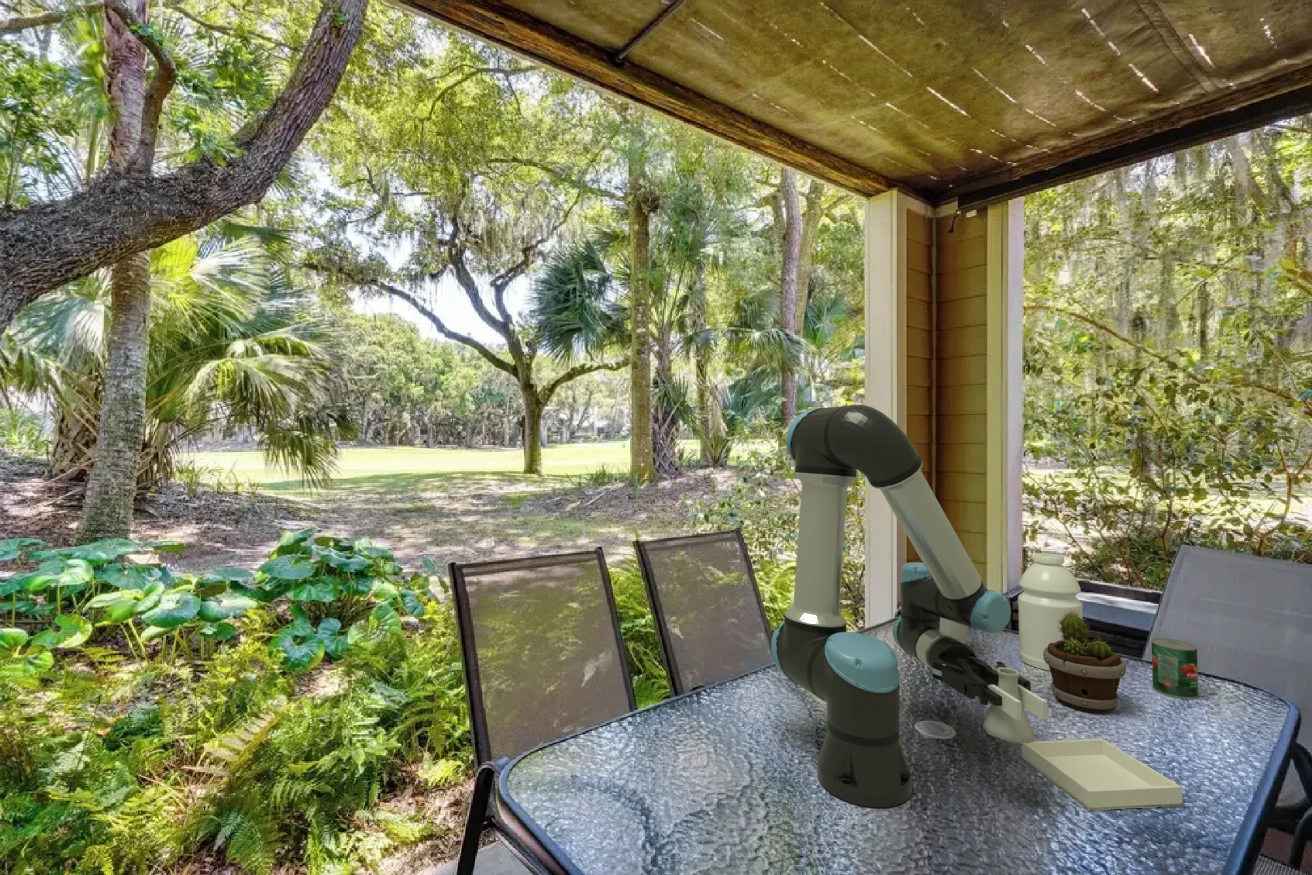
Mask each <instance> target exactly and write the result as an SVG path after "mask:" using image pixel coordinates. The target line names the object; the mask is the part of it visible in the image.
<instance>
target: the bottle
mask: <svg viewBox="0 0 1312 875" xmlns="http://www.w3.org/2000/svg"><path fill="white" fill-rule="evenodd" d="M1032 560H1033V561H1034V563H1032V564H1031V565H1029V567H1027V569H1026V570H1025V571H1024V572H1023V573H1022V575H1021V577H1020V580H1019V582H1018V585H1019V587H1021V589H1023V592H1021V593H1020V594H1019V595H1018V596H1017V604H1018V606H1017V607H1018V639H1019V640H1018V642H1019V643H1018V645H1019V646H1018V648H1019V650H1018V654H1019V658H1020V659H1021V661H1022V662H1023V663H1026V664H1027V665H1030V666H1032V667H1035V668H1037V669H1041V670H1045V671H1050V668H1049V665H1048V664H1047V663H1046V662H1045V661H1044V658H1043V652H1044V649H1045V648H1046V647H1048V644H1050V643H1056V642H1057V641H1060V640H1061V639H1064V638H1062V636H1063V634H1062V632H1061V631H1060V630H1059V628H1061V624H1060V623H1059V621H1061V620H1063V618H1065V617H1066V616H1065V615H1068V614H1072V613H1073V611H1074V610H1075V611H1074V613H1075V614H1078V616H1077V615H1076V616H1077V617H1079V618H1081V619H1082V617H1083V608H1084V607H1083V602H1082V601H1080V599H1079V598H1078V597H1077V594H1079V593H1080V592H1081V587H1080V584H1079V582H1078V580H1077V578H1076V577H1075V576H1074V574H1073V573H1072V572H1071V571H1070V570H1069V569H1068V568H1067V567H1066V566H1065V565H1063V564H1065V557H1064V555H1062V554H1057V553H1050V552H1049V553H1048V552H1037V553H1034V554H1033V556H1032ZM1070 607H1071V608H1070ZM1071 610H1072V612H1071ZM1066 611H1067V612H1066ZM1068 612H1071V613H1068ZM1065 613H1068V614H1065ZM1074 613H1073V614H1074ZM1061 615H1063V617H1062V616H1061ZM1060 617H1062V619H1061V618H1060ZM1060 619H1061V620H1060ZM1058 620H1059V621H1058ZM1058 623H1059V624H1058ZM1058 630H1059V632H1058ZM1061 635H1062V636H1061ZM1063 641H1065V640H1063Z"/></svg>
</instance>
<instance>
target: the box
mask: <svg viewBox="0 0 1312 875" xmlns="http://www.w3.org/2000/svg"><path fill="white" fill-rule="evenodd" d="M1021 749H1022V751H1021V752H1022V753H1021V754H1022V760H1023V761H1025V762H1026V763H1027V764H1028V765H1030V766H1031V767H1032V768H1034V769H1035V770H1037V771H1038V772H1039V773H1040V774H1041V775H1043V776H1044V777H1045V778H1046V779H1048V780H1049V781H1051V783H1053V784H1054V785H1055V786H1057V787H1058V788H1059V789H1060V790H1062V791H1063V792H1064V793H1066V794H1067V795H1068V796H1070V797H1071V799H1073V800H1075V801H1076V802H1077V803H1078V804H1080V805H1081V806H1083V807H1084V808H1085V809H1086V810H1088V811H1089V812H1098V811H1099V812H1100V811H1114V810H1113V809H1122V810H1127V809H1126V808H1142V809H1157V807H1162V808H1181V807H1183V786H1181V785H1180V784H1177V782H1174V781H1173V780H1171V779H1169V778H1168V777H1166V776H1164V775H1163V774H1162V773H1159V772H1158V771H1156V770H1154V769H1153V768H1152V767H1150V766H1147V765H1146V764H1145V763H1143V762H1142V761H1141V760H1138V759H1136V758H1135V757H1133V756H1132V755H1130V754H1129V753H1127V752H1125V751H1123V750H1122V749H1120V748H1118V747H1117V746H1115V745H1113V744H1112V743H1110V742H1109V741H1106V740H1105V739H1103V738H1088V739H1086V738H1085V739H1065V740H1064V739H1062V740H1041V741H1037V740H1036V741H1031V742H1030V743H1021ZM1170 806H1171V807H1170ZM1111 809H1112V810H1111Z"/></svg>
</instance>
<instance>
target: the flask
mask: <svg viewBox="0 0 1312 875" xmlns="http://www.w3.org/2000/svg"><path fill="white" fill-rule="evenodd" d="M996 671H997V673H998V675H999V682H998V687H999V688H1000V689H1002V690H1003V691H1005V692H1006V693H1008V694H1010V695H1011V696H1013V697H1014V698H1016V699H1018V700H1019V701H1021V698H1020V694H1019V689H1018V677H1019V676H1021V675H1020V671H1018V670H1017V669H1015V668H1014V669H1013V668H1010V667H1007V668H1004V667H999V668H997V670H996ZM1021 711H1022V720H1016V719H1015V718H1013V717H1012V716H1010V715H1009V714H1007V713H1006V712H1004V711H1003V710H1001V709H1000V708H998V707H997V706H995V705H993V704H992V703H991V706H990V708H989V711H988V713H987V714H986V717H985V719H984V722H983V724H982V727H983V729H984V730H985V731H986V733H987V735H990V736H991V737H992V736H993V737H995V738H998V739H1000V740H1003V741H1006V742H1011V743H1012V742H1013V743H1019V744H1020V743H1021V744H1022V743H1030V742H1033V741H1034V740H1035V739H1036V735H1035V733H1034V730H1033V728H1032V726H1031V723H1030V720H1029V717H1028V716H1027V713H1026V712H1027V711H1026V708H1024V707H1023V704H1022V701H1021Z"/></svg>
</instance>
